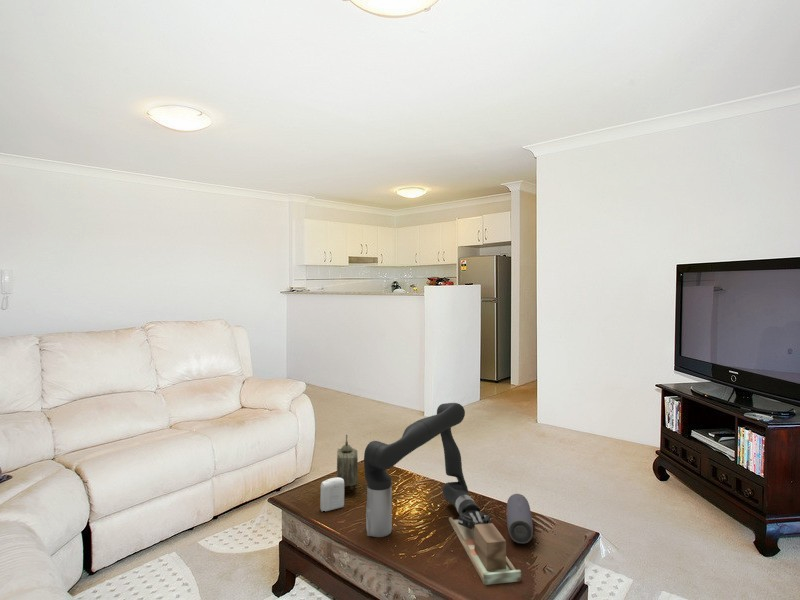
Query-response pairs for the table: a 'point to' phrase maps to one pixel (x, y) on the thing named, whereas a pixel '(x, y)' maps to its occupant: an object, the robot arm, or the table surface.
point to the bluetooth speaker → (519, 519)
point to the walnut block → (490, 547)
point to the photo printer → (332, 494)
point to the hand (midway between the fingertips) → (482, 531)
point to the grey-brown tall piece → (347, 465)
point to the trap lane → (486, 576)
